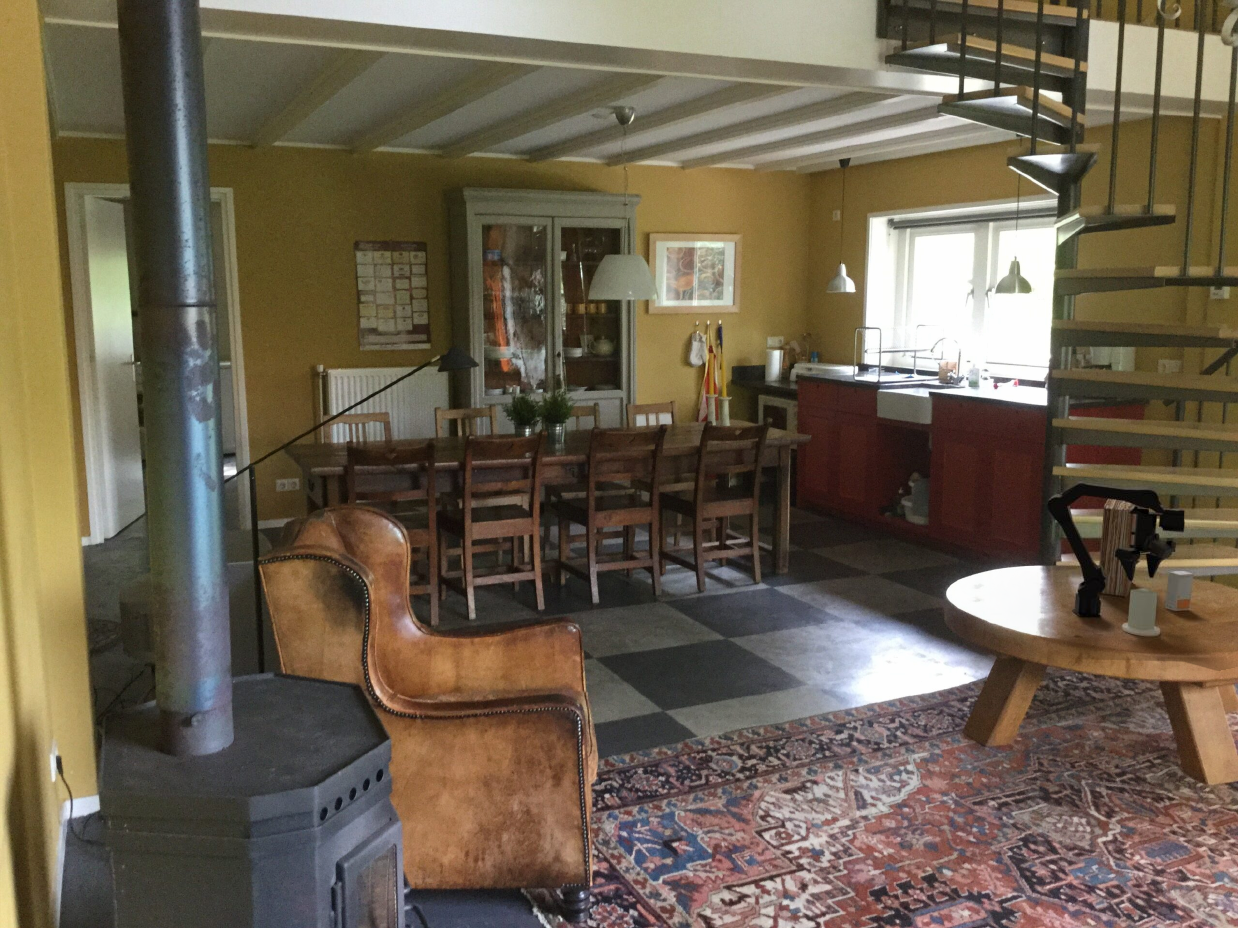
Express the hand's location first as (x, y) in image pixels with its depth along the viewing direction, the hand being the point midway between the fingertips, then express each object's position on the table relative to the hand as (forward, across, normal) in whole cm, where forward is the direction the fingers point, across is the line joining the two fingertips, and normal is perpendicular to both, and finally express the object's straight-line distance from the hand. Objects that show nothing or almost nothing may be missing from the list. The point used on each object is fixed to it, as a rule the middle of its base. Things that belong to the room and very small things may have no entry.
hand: (1141, 579), depth 316 cm
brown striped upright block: (+13, +27, +30) cm, 42 cm away
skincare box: (+13, +23, +4) cm, 27 cm away
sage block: (+12, -9, -8) cm, 17 cm away
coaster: (+13, -9, -8) cm, 17 cm away
